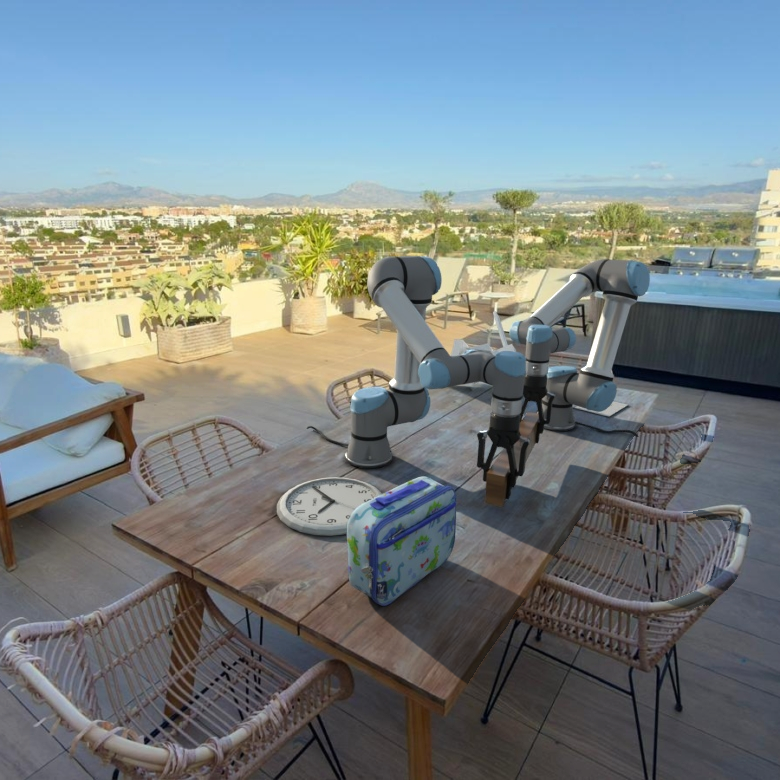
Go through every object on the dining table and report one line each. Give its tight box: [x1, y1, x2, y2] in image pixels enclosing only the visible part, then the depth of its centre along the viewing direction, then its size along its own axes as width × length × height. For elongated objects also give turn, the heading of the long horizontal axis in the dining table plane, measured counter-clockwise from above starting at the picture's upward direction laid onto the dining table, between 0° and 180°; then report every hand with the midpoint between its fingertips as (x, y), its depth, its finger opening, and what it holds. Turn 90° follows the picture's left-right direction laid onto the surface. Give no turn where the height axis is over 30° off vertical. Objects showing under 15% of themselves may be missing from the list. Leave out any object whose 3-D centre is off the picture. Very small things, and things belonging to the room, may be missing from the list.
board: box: [484, 411, 540, 508], centre depth 156 cm, size 51×5×9 cm, turn 155°
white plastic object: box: [450, 310, 517, 384], centre depth 245 cm, size 37×45×31 cm
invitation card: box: [573, 400, 629, 418], centre depth 226 cm, size 21×1×15 cm
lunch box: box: [346, 475, 457, 607], centre depth 111 cm, size 26×11×21 cm, turn 134°
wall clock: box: [276, 476, 384, 537], centre depth 142 cm, size 30×2×30 cm
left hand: (498, 494), depth 139 cm, fingers closed on board, 5 cm apart
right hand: (528, 440), depth 175 cm, fingers closed on board, 5 cm apart
